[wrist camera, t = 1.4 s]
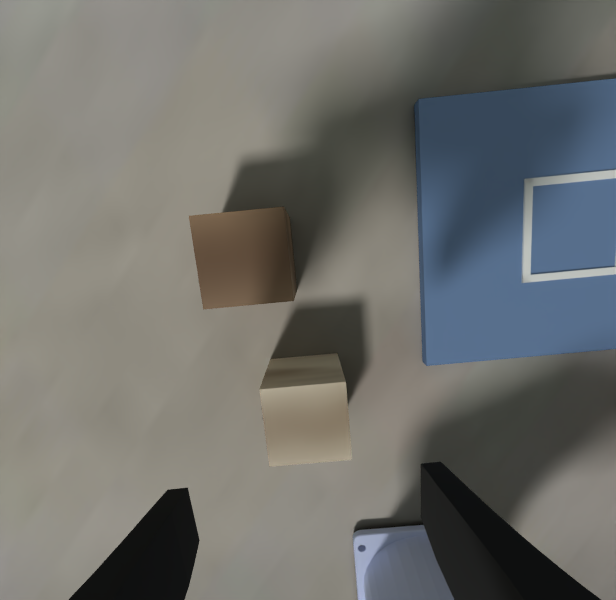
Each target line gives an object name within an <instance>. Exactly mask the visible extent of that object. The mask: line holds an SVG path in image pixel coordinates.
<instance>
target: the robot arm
mask: <svg viewBox="0 0 616 600" xmlns="http://www.w3.org/2000/svg"><path fill="white" fill-rule="evenodd" d="M421 518H422V521H423V524H424V525H415V526H403V527H390V528H378V529H365V530H358V531H356V532H355V533H354V534H353V546H354V558H355V571H356V583H357V595H358V600H601V599H599V598H598V597H597V596H595V595H594V594H593V593H591V592H590V591H589V590H587V589H586V588H585V587H583V586H582V585H581V584H580V583H578V582H577V581H576V580H575V579H573V578H572V577H571V576H570V575H568V574H567V573H566V572H564V571H563V570H562V569H561V568H559V567H558V566H557V565H556V564H555V563H553V562H552V561H551V560H550V559H549V558H547V557H546V556H545V555H544V554H542V553H541V552H540V551H539V550H538V549H536V548H535V547H534V546H533V545H532V544H531V543H529V542H528V541H527V540H526V539H525V538H524V537H522V536H521V535H520V534H519V533H518V532H517V531H515V530H514V529H513V528H512V527H511V526H510V525H509V524H508V523H506V522H505V521H504V520H503V519H502V518H501V517H500V516H498V515H497V514H496V513H495V512H494V511H493V510H492V509H491V508H490V507H488V506H487V505H486V504H485V503H484V502H483V501H482V500H481V499H480V498H479V497H478V496H477V495H475V494H474V493H473V492H472V491H471V490H470V489H469V488H468V487H467V486H466V485H465V484H464V483H463V482H462V481H461V480H460V479H458V478H457V477H456V476H455V475H454V474H453V473H452V472H451V471H450V470H449V469H448V468H447V467H446V466H445V465H444V464H442V463H441V462H434V463H424V464H421ZM198 545H199V536H198V532H197V527H196V523H195V519H194V514H193V510H192V505H191V501H190V496H189V492H188V488H180V489H171V490H167V491H166V492H165V493H164V495H163V496H162V497H161V498H160V499H159V500H158V501H157V502H156V504H155V505H154V506H153V507H152V508H151V509H150V510H149V512H148V513H147V514H146V515H145V516H144V517H143V518H142V520H141V521H140V522H139V523H138V524H137V525H136V526H135V528H134V529H133V530H132V531H131V532H130V533H129V534H128V536H127V537H126V538H125V539H124V540H123V541H122V542H121V543H120V545H119V546H118V547H117V548H116V549H115V550H114V551H113V552H112V553H111V555H110V556H109V557H108V558H107V559H106V560H105V561H104V562H103V563H102V565H101V566H100V567H99V568H98V569H97V570H96V571H95V572H94V573H93V574H92V575H91V577H90V578H89V579H88V580H87V581H86V582H85V583H84V584H83V585H82V586H81V587H80V588H79V589H78V590H77V591H76V592H75V593H74V594H73V595H72V597H71V598H70V599H69V600H184V599H185V596H186V593H187V590H188V587H189V583H190V579H191V575H192V571H193V567H194V563H195V558H196V554H197V549H198ZM360 545H362V546H360Z"/></svg>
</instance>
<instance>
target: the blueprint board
mask: <svg viewBox="0 0 616 600" xmlns="http://www.w3.org/2000/svg"><path fill="white" fill-rule="evenodd" d="M414 111H415V142H416V173H417V204H418V235H419V266H420V297H421V327H422V358H423V363H424V364H425V365H426V366H430V365H441V364H452V363H463V362H474V361H486V360H497V359H508V358H519V357H531V356H542V355H553V354H564V353H576V352H587V351H598V350H609V349H616V78H615V79H605V80H596V81H586V82H576V83H567V84H557V85H548V86H538V87H528V88H519V89H509V90H500V91H490V92H480V93H471V94H461V95H452V96H442V97H432V98H423V99H418V101H417V102H416V103H415V105H414Z"/></svg>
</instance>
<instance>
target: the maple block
mask: <svg viewBox="0 0 616 600" xmlns="http://www.w3.org/2000/svg"><path fill="white" fill-rule="evenodd" d="M260 397H261V405H262V412H263V420H264V428H265V436H266V443H267V451H268V459H269V467H274V466H285V465H297V464H309V463H321V462H332V461H344V460H352V453H351V440H350V427H349V415H348V402H347V389H346V380H345V377H344V374H343V370H342V367H341V364H340V360H339V357H338V354H337V353H333V354H322V355H311V356H300V357H289V358H277V359H270V362H269V365H268V367H267V370H266V373H265V376H264V378H263V381H262V384H261V387H260Z"/></svg>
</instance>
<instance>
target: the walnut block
mask: <svg viewBox="0 0 616 600" xmlns="http://www.w3.org/2000/svg"><path fill="white" fill-rule="evenodd" d="M189 220H190V227H191V233H192V239H193V246H194V252H195V259H196V265H197V271H198V278H199V284H200V291H201V297H202V303H203V309H212V308H223V307H234V306H244V305H255V304H266V303H276V302H287V301H294V298H295V295H296V292H297V284H296V274H295V264H294V254H293V245H292V235H291V225H290V217H289V215H288V213H287V212H286V210H285V208H284V207H274V208H264V209H254V210H244V211H234V212H224V213H214V214H203V215H193V216H189Z"/></svg>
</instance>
